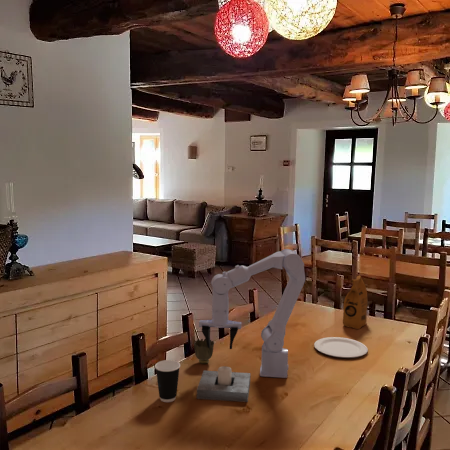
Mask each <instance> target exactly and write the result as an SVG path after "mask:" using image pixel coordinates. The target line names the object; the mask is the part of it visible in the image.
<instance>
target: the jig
mask: <svg viewBox="0 0 450 450" xmlns="http://www.w3.org/2000/svg"><path fill="white" fill-rule="evenodd" d="M250 388H251V373H250V372H235V371H232V374H231V386H226V385H218V370H205V369H204V370H203V371H202V374H201V377H200V380H199V382H198V385H197V387H196V399H197V400H211V401H227V402H228V401H229V402H239V403H240V402H241V403H243V402H244V403H248V402H249V395H250Z"/></svg>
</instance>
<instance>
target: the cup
mask: <svg viewBox="0 0 450 450" xmlns="http://www.w3.org/2000/svg"><path fill="white" fill-rule="evenodd" d="M214 341H215V340H212V339H210V348H208V347H207V342H206V339H205V338H204V340H203V338H201V339H199V338H197V340H196V339H195V340H194V342H193V348H194V354H195V358H196V359H198V363H199V364H201V365H206V364H207V365H208V363H209V362H210V359H211V358H212V357H213V352H214V345H215V342H214Z"/></svg>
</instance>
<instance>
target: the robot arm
mask: <svg viewBox="0 0 450 450" xmlns="http://www.w3.org/2000/svg"><path fill="white" fill-rule="evenodd" d="M271 268H274V269H279V270H283V269H284V270H285V272H286V274H287V276H288V281H287V284H286V287H285V288H284V291H283V294H281V295H282V296H281V298H280V301H279V302H278V305H277V306H276V307H277V308H276V309H275V312H274V314H273V317H272V319H270V320H269V321H268V323H267V325H266V326H265V327H264V328H262V330H261V333H260V334H261V335H260V337H261V339H262V341H263V344H262V345H261V362H260V363H261V365H260V369H259V376H260V377H264V378H265V377H266V378H282V379H286V378H287V379H288V370H289V363H288V362H289V358H288V357H289V356H288V355H289V349H287V348H284V344H285V340H284V339H285V336H286V327H287V324H288V321H289V320H290V317H291V315H292V313H293V309H294V308H295V306H296V303H297V302H298V301H297V300H298V299H299V296H300V295H301V291H302V289H303V287H304V284H305V282H306V273H305V263H304V261H303V259H302V257H301V256H300V255H299V254H298V253H296V252H294V250H292V249H290V248H284V249H282V250H281V251H276V252H274V253H272V254H270V255H268V256H266V257H264V258H262V259H260V260H259V261H256V262H254V263H252V264H250V265H249V266H246V265H239V264H237V265H235V266H234V268H232V269H231V270H228V271H226V270H225V271H222V274H221V273H218V274H215V275H213V277H212V279H211V281H210V284H211V287H212V295H211V319H203V320H202V319H200V320H199V321H198V328H201V332H202V335H203V336H204V339H206V342H207V347H208V348H210V340H211V328H216V329H217V328H218V329H219V328H220V329H223V328H224V329H229V337H230V338H229V350H232V349H233V345H234V340H235V337H236V335H237V334H238V330H242V321H235V320H229V305H230V303H229V302H230V301H229V300H230V298H229V291H230V289H233V288H235V287H238V286H240V285H242V284H244V283H247V282H248V281H250V278H251V277H252V276H254V275H257V274H259V273H261V272H265V271H267V270H269V269H271Z"/></svg>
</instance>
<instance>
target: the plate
mask: <svg viewBox="0 0 450 450" xmlns="http://www.w3.org/2000/svg"><path fill="white" fill-rule="evenodd" d="M313 346H314V348H315V350H317V352H319V353H322V354H323V355H327V356H328V357H334V358H338V359H339V358H341V359H355V358H360V357H363V356H364V355H366V354H367V353H368V351H369V349H368V347H367V346H366V345H365V344H364V343H362V342H360V341H358V340H355V339H352V338H347V337H342V336H341V337H339V336H335V337H334V336H329V337H322V338H319V339H317V340H315V342H314V344H313Z"/></svg>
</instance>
